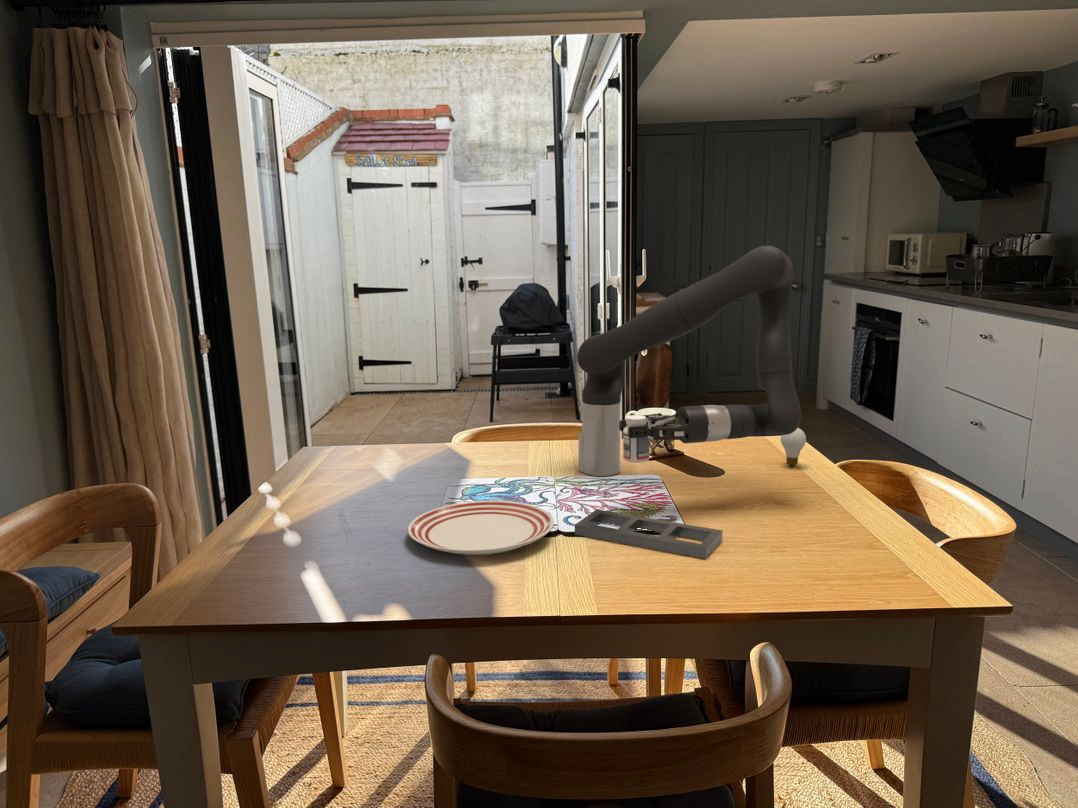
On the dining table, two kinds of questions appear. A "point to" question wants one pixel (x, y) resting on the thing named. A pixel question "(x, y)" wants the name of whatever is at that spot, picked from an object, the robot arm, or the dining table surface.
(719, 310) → the robot arm
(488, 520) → the dinner plate
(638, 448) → the pill bottle
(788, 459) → the light bulb
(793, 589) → the dining table surface
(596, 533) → the compartment tray
